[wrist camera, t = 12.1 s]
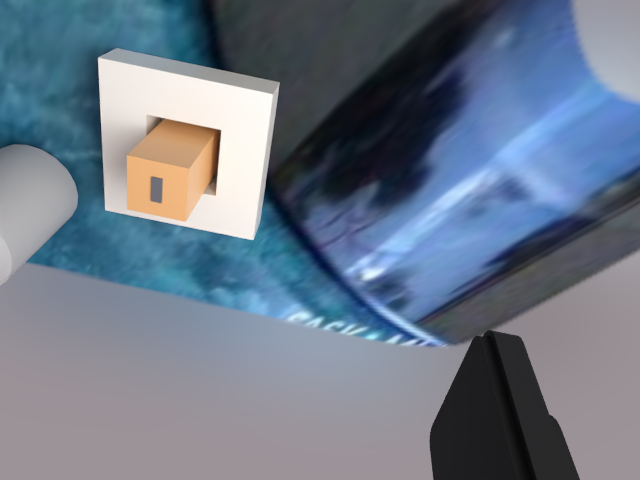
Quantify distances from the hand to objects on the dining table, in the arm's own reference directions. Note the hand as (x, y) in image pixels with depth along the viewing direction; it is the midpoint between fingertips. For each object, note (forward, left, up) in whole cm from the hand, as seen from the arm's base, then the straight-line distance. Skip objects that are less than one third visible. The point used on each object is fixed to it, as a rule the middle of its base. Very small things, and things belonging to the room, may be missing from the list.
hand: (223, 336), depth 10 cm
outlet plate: (+10, -9, -30) cm, 33 cm away
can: (+16, -22, -31) cm, 41 cm away
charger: (+10, -9, -30) cm, 33 cm away
